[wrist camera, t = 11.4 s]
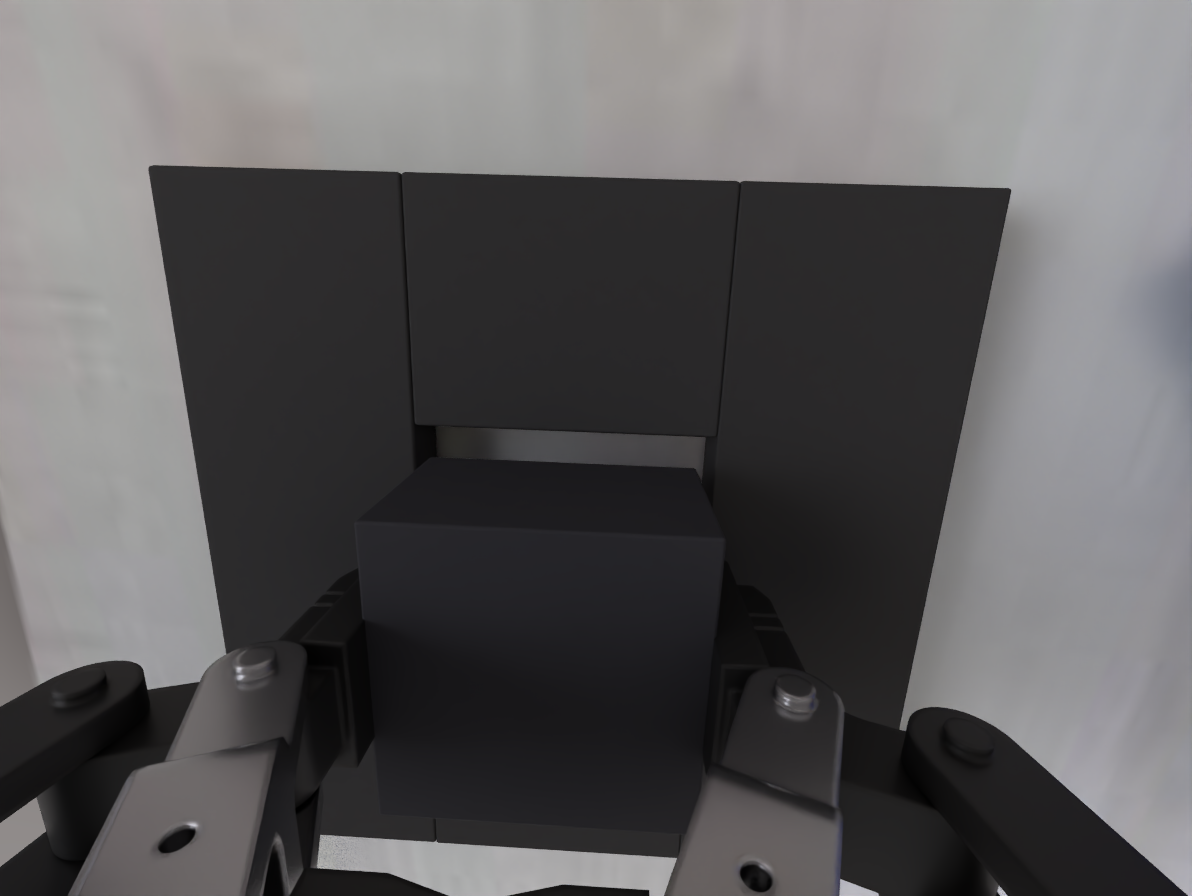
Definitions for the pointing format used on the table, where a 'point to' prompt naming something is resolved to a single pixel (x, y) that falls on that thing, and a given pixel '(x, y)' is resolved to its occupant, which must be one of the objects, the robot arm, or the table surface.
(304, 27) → the table surface
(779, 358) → the socket pad
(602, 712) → the plug pad
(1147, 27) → the table surface
